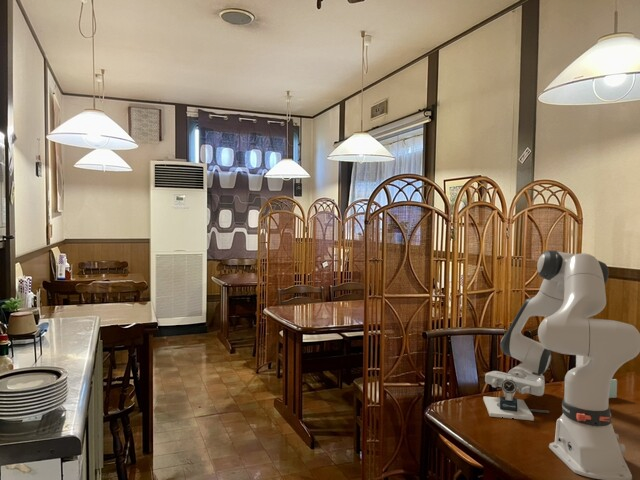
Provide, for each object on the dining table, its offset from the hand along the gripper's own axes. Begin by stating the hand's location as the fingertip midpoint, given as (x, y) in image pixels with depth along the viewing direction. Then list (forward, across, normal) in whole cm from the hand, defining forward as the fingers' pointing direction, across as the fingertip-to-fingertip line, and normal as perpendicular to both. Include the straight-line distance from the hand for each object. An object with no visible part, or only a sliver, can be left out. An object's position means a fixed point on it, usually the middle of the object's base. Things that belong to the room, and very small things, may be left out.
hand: (506, 388), depth 161 cm
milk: (-26, +20, +8) cm, 34 cm away
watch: (+1, +1, +7) cm, 7 cm away
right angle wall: (-42, +18, +9) cm, 46 cm away
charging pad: (-2, +3, +8) cm, 9 cm away
